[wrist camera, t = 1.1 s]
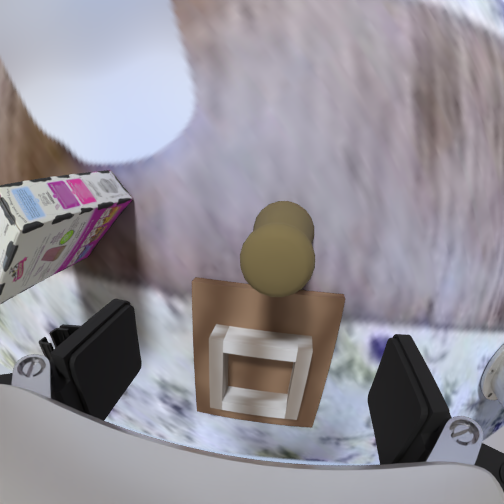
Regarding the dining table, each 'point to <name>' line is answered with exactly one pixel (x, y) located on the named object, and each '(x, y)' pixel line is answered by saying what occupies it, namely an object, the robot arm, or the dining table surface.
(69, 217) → the candy bar box
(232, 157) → the dining table surface
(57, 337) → the end cap
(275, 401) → the socket board
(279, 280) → the cork
